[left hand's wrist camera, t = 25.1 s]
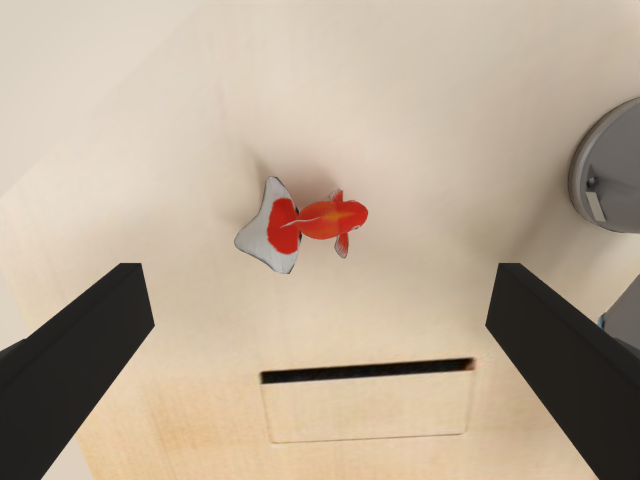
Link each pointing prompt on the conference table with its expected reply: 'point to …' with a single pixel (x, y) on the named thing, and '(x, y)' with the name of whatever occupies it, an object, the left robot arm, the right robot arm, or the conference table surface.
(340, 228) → the fish
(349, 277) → the conference table surface
